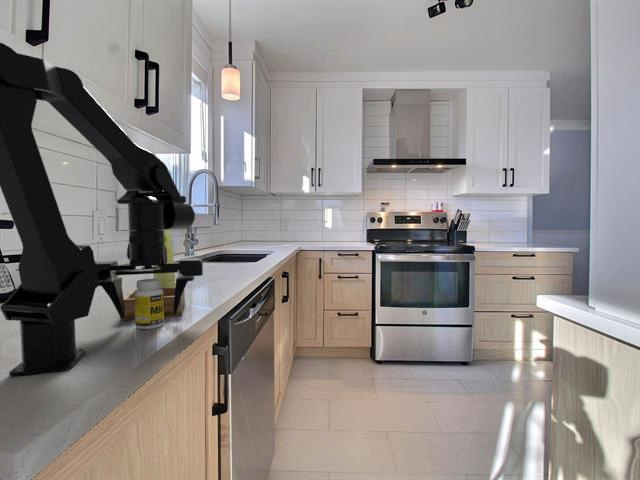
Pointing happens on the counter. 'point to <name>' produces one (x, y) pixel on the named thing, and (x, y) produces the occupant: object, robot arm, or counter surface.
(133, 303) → the walnut box
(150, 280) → the supplement bottle
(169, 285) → the tube
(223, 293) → the counter surface
